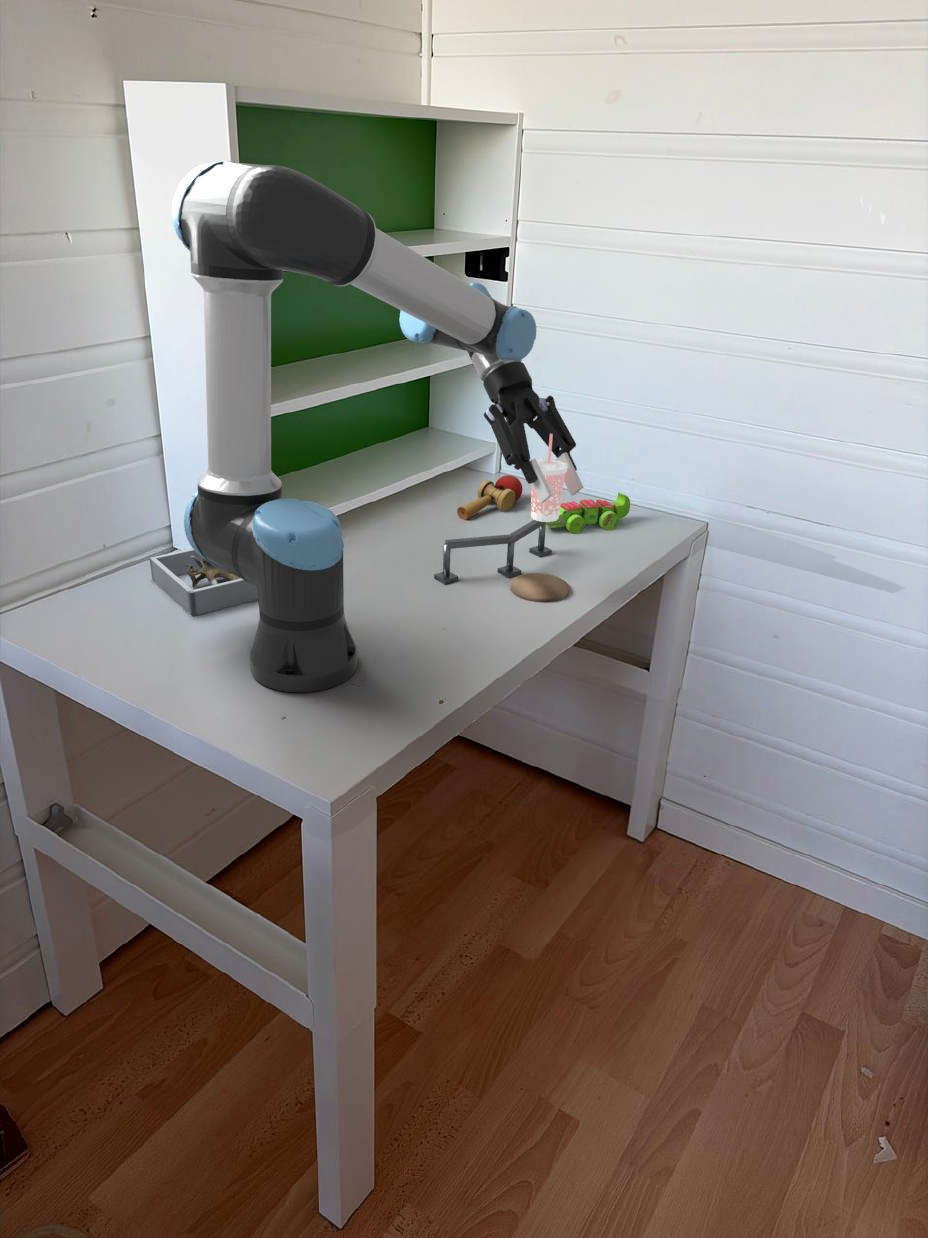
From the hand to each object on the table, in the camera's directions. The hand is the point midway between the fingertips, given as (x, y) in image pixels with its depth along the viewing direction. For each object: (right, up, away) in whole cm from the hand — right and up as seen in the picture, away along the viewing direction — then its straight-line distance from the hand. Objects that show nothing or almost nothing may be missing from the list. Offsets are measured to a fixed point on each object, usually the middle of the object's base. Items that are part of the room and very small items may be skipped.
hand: (562, 494), depth 151 cm
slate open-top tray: (-58, -15, +7) cm, 60 cm away
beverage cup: (-2, -3, +5) cm, 6 cm away
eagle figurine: (-57, -15, +7) cm, 59 cm away
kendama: (-10, +3, +46) cm, 47 cm away
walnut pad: (-3, -15, +11) cm, 18 cm away
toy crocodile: (+8, -2, +39) cm, 40 cm away
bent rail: (-9, -11, +18) cm, 23 cm away
